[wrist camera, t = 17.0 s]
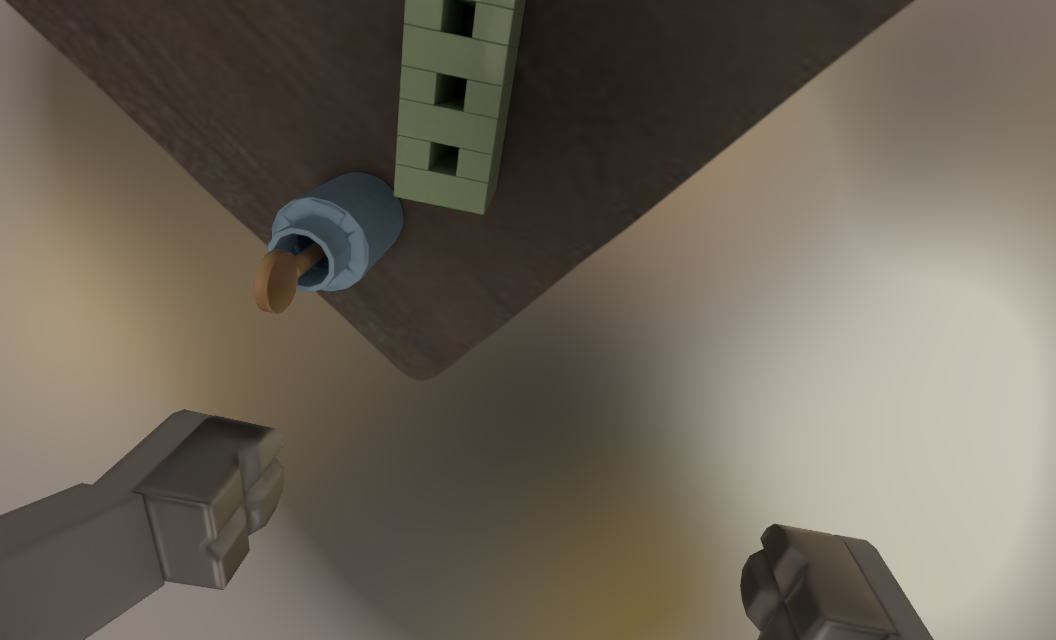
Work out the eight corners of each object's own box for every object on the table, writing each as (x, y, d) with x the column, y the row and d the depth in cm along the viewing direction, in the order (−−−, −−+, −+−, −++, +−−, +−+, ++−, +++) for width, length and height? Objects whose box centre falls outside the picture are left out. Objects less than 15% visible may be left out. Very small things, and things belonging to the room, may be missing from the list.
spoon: (356, 192, 44) (247, 262, 29) (370, 195, 44) (268, 266, 29) (355, 235, 45) (253, 321, 31) (368, 238, 45) (272, 325, 31)
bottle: (324, 164, 43) (244, 199, 33) (406, 181, 43) (353, 221, 33) (324, 242, 46) (252, 297, 36) (401, 257, 47) (352, 316, 36)
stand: (436, -42, 36) (408, -62, 30) (529, -22, 36) (520, -38, 30) (418, 176, 43) (393, 196, 37) (495, 192, 43) (483, 215, 37)
